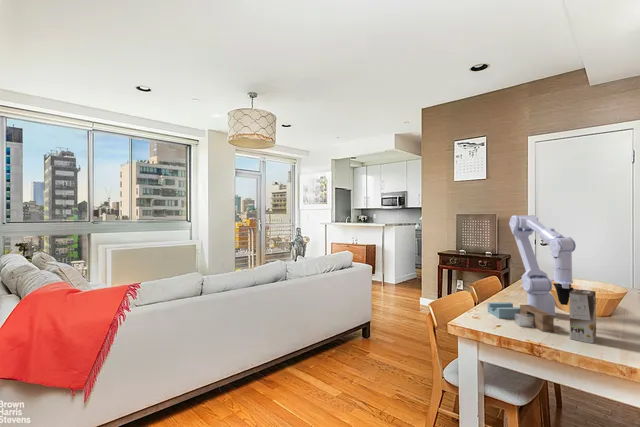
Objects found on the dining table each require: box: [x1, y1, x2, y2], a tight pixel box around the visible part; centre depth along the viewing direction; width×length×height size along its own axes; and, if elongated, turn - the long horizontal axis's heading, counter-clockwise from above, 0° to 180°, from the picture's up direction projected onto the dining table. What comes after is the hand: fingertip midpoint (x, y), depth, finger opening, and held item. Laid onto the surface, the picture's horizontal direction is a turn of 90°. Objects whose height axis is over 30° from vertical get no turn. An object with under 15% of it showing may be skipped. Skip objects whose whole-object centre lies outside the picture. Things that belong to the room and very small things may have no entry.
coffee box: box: [569, 288, 597, 344], centre depth 113 cm, size 9×6×16 cm
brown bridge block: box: [519, 304, 555, 332], centre depth 126 cm, size 4×14×6 cm, turn 178°
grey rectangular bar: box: [514, 314, 535, 328], centre depth 126 cm, size 12×4×4 cm, turn 83°
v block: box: [487, 301, 520, 320], centre depth 139 cm, size 10×10×4 cm
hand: (563, 303), depth 126 cm, fingers open, 3 cm apart
